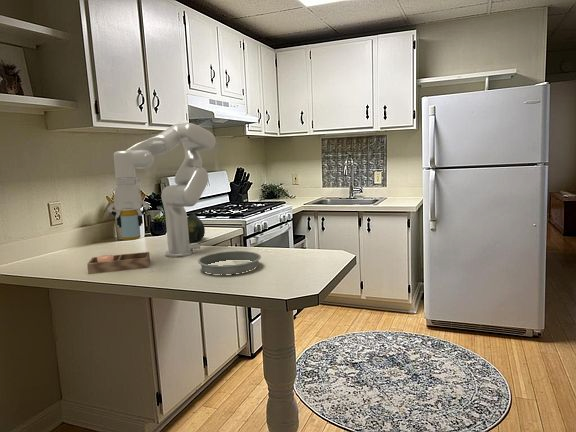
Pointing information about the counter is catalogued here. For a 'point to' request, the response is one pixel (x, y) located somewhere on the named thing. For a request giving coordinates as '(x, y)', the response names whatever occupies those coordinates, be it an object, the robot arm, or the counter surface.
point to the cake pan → (229, 256)
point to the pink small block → (105, 258)
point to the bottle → (129, 222)
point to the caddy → (120, 263)
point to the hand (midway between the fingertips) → (130, 226)
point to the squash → (195, 228)
